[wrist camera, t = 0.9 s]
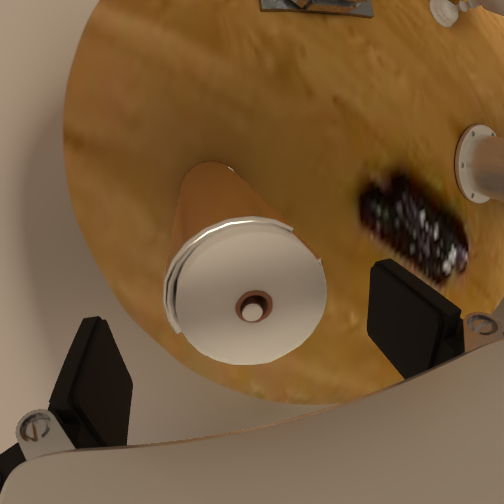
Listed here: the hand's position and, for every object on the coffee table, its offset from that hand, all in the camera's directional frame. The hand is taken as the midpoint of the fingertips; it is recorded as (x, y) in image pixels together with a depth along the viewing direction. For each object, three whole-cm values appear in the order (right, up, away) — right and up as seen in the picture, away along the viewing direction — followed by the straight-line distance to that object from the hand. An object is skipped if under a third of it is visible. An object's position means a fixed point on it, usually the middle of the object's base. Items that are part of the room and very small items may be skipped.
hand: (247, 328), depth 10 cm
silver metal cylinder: (-4, +9, +24) cm, 26 cm away
